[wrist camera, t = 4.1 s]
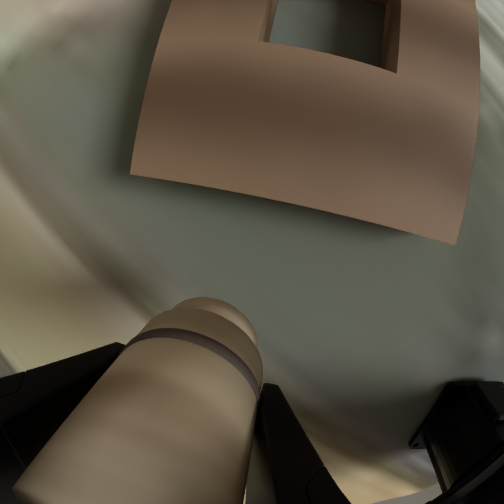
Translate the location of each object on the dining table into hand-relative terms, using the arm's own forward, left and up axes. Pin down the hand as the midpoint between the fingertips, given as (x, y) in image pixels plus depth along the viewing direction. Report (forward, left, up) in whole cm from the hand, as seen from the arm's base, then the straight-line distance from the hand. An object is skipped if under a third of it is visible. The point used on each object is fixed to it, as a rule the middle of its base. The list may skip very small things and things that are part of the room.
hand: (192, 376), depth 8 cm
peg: (0, 0, -2) cm, 2 cm away
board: (+14, -2, -8) cm, 16 cm away
